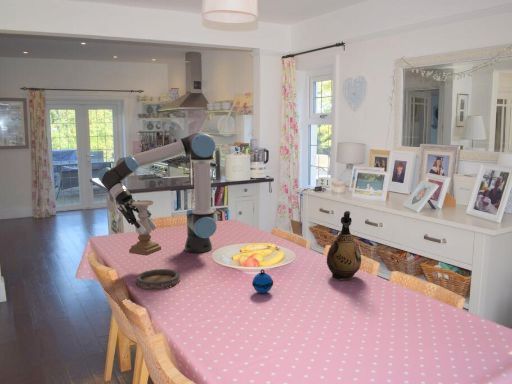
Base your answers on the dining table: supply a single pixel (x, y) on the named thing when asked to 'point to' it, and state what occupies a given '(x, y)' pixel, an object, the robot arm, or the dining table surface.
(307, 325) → the dining table surface
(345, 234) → the ceramic jug
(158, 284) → the tray
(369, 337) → the dining table surface
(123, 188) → the robot arm
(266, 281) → the ornament
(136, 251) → the candle holder
